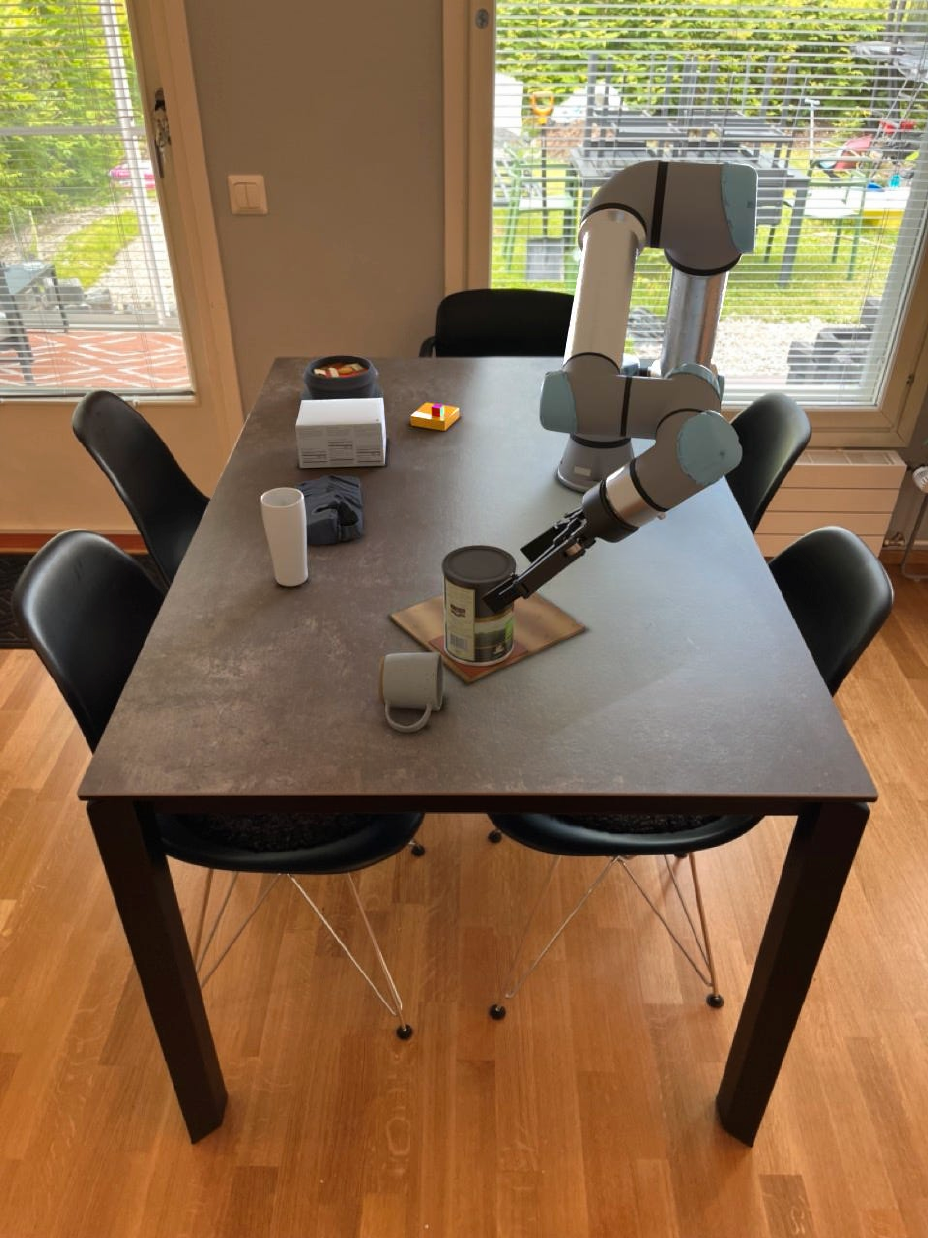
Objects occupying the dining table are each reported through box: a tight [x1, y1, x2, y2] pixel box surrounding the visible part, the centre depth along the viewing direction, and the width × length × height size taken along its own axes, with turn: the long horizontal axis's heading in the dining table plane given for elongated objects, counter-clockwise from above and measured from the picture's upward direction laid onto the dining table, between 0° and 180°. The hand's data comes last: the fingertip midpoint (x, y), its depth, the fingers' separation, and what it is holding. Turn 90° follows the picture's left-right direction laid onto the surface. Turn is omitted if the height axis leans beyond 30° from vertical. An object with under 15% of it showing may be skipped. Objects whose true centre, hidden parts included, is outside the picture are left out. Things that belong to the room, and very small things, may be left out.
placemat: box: [390, 591, 586, 684], centre depth 147 cm, size 22×20×1 cm
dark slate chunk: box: [293, 473, 364, 546], centre depth 175 cm, size 15×22×5 cm
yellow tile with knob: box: [410, 402, 460, 432], centre depth 209 cm, size 8×8×4 cm
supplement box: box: [294, 397, 387, 469], centre depth 195 cm, size 17×13×9 cm
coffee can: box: [441, 544, 517, 666], centre depth 137 cm, size 10×10×14 cm
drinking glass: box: [259, 487, 309, 587], centre depth 154 cm, size 7×7×15 cm
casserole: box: [299, 354, 384, 401], centre depth 217 cm, size 25×19×8 cm
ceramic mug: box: [377, 651, 444, 734], centre depth 129 cm, size 11×8×8 cm
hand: (508, 579), depth 133 cm, fingers open, 13 cm apart
